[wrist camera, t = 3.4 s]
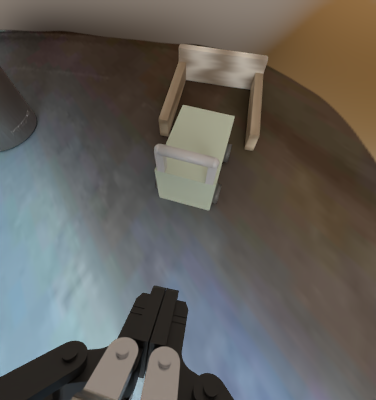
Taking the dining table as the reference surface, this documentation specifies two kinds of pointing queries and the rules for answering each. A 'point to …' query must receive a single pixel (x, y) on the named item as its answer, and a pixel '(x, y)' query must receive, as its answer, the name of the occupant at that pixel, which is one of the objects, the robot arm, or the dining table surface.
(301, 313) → the dining table surface
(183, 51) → the birch bay
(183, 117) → the sage trolley
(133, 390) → the robot arm
